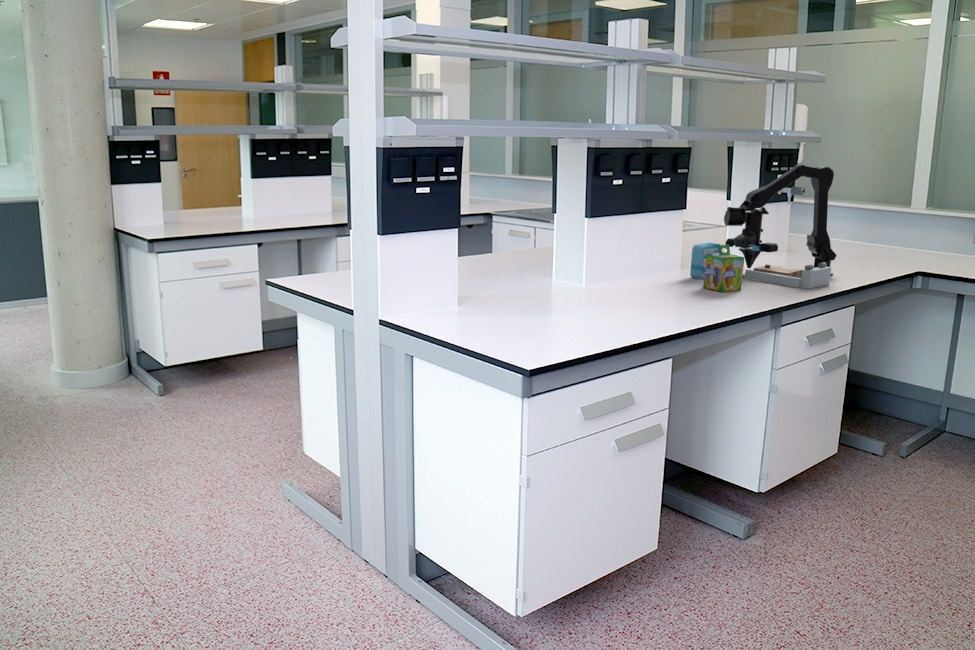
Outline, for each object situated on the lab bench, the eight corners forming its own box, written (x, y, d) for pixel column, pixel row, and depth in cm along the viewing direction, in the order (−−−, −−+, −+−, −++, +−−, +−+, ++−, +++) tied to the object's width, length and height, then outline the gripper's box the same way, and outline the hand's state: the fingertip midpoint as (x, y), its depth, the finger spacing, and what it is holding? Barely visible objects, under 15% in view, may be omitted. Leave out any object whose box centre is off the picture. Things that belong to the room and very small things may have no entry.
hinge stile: (820, 282, 280) (823, 261, 278) (829, 284, 278) (831, 262, 276) (800, 287, 272) (802, 265, 270) (808, 288, 269) (811, 266, 268)
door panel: (767, 275, 295) (768, 262, 294) (801, 280, 286) (802, 267, 285) (752, 279, 287) (754, 265, 286) (786, 284, 278) (788, 270, 277)
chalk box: (721, 292, 259) (725, 247, 256) (702, 287, 267) (705, 244, 264) (742, 290, 264) (746, 246, 260) (722, 285, 271) (726, 242, 268)
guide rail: (747, 277, 288) (747, 269, 287) (801, 287, 272) (802, 278, 271) (744, 278, 287) (745, 269, 286) (798, 287, 271) (799, 278, 270)
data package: (700, 280, 281) (703, 246, 278) (689, 278, 284) (692, 244, 282) (718, 276, 289) (721, 243, 286) (708, 274, 292) (711, 242, 289)
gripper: (718, 224, 293) (714, 266, 297) (763, 230, 279) (759, 274, 283) (735, 223, 300) (732, 263, 304) (780, 228, 286) (776, 271, 290)
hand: (749, 268), depth 295 cm, fingers closed
